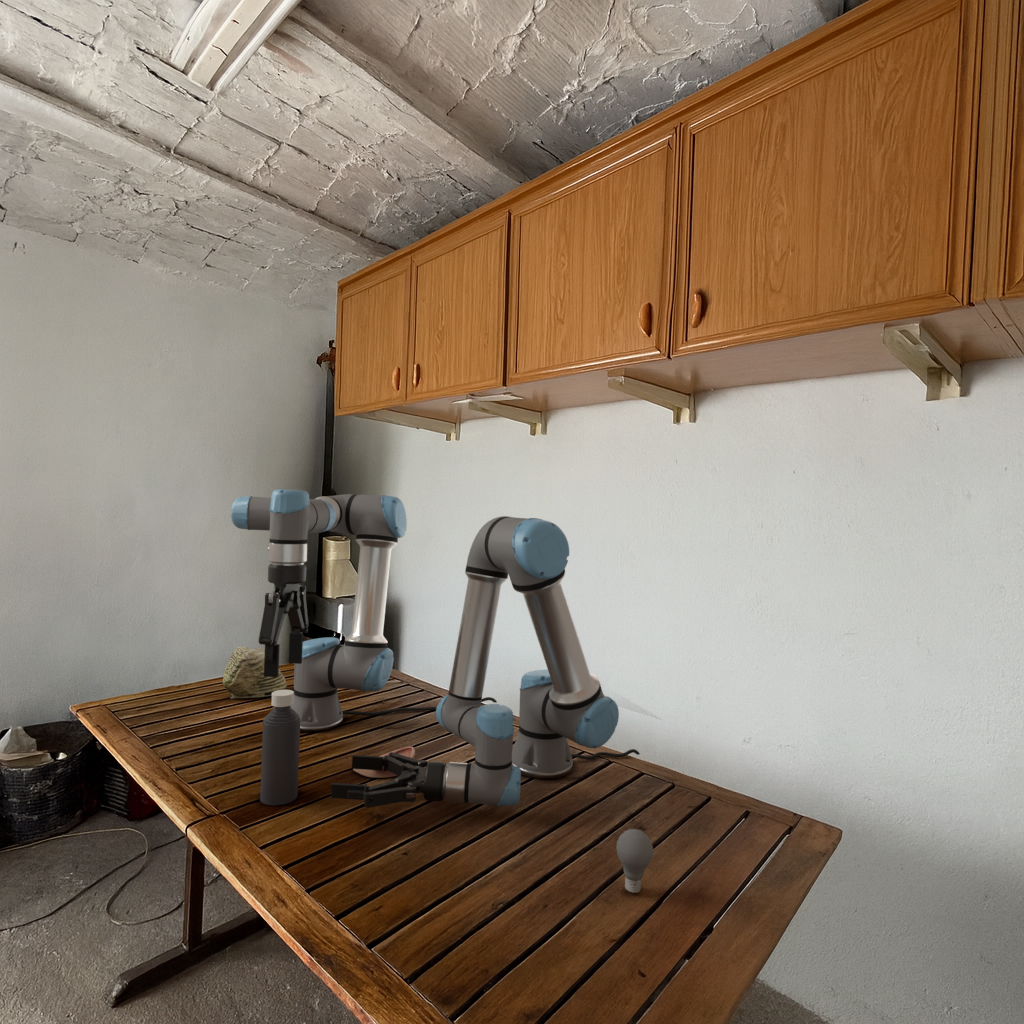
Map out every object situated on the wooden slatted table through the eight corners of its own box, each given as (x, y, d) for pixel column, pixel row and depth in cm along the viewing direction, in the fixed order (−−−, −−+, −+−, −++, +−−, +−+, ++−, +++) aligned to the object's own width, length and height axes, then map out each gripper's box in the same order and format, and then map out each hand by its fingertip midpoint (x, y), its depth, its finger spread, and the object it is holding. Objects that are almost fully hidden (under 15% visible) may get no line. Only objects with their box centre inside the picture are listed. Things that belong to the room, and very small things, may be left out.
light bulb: (610, 879, 108) (613, 822, 108) (644, 879, 109) (647, 822, 109) (619, 902, 102) (622, 840, 102) (655, 901, 103) (658, 840, 103)
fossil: (218, 695, 195) (220, 647, 195) (278, 685, 208) (279, 640, 207) (228, 703, 189) (230, 653, 188) (289, 692, 201) (290, 645, 201)
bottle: (278, 808, 128) (282, 702, 128) (252, 799, 131) (256, 695, 131) (305, 794, 135) (308, 693, 134) (279, 786, 138) (283, 687, 137)
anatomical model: (347, 757, 144) (369, 739, 156) (347, 774, 144) (368, 755, 156) (402, 764, 142) (420, 745, 153) (402, 782, 142) (419, 762, 153)
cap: (282, 708, 130) (282, 697, 130) (266, 704, 132) (267, 693, 131) (298, 702, 133) (298, 691, 133) (282, 699, 135) (283, 688, 135)
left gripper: (294, 557, 144) (291, 655, 144) (241, 568, 121) (237, 683, 122) (326, 559, 143) (322, 657, 143) (278, 570, 120) (274, 686, 121)
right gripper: (434, 831, 117) (321, 824, 118) (452, 773, 142) (359, 767, 143) (436, 791, 117) (322, 784, 118) (454, 740, 142) (360, 734, 143)
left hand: (283, 669), depth 132 cm, fingers open, 10 cm apart
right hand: (342, 775), depth 130 cm, fingers open, 13 cm apart
